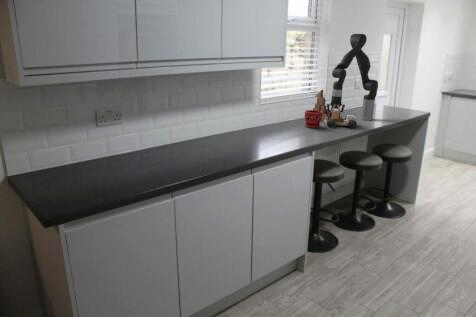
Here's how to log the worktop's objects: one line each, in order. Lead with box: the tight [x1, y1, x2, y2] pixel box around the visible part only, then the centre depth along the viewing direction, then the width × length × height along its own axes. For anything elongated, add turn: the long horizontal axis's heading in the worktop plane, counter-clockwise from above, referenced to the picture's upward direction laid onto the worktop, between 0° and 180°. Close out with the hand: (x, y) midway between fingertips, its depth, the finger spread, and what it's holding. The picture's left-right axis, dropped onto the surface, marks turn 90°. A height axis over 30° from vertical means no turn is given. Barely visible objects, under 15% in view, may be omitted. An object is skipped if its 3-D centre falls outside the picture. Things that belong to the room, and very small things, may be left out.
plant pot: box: [304, 109, 323, 129], centre depth 296 cm, size 13×13×12 cm
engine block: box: [330, 109, 339, 119], centre depth 302 cm, size 7×5×6 cm
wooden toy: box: [312, 89, 330, 123], centre depth 318 cm, size 16×7×25 cm, turn 41°
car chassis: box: [323, 114, 358, 129], centre depth 304 cm, size 17×22×8 cm
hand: (334, 117), depth 303 cm, fingers closed on engine block, 5 cm apart
